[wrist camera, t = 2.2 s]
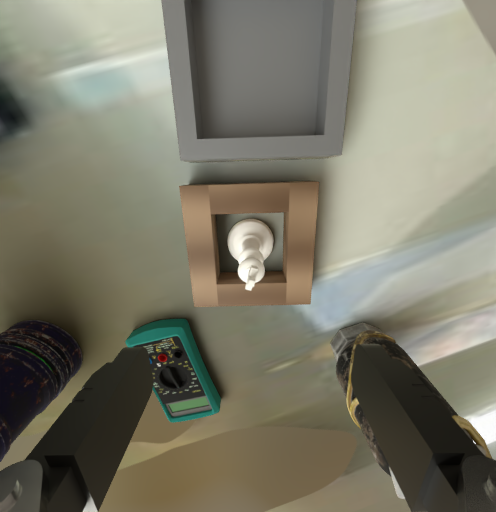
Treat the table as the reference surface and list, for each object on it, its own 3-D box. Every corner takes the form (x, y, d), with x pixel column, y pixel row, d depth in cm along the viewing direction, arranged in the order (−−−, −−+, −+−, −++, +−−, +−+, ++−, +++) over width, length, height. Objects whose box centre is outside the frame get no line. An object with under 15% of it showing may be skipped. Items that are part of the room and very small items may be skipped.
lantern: (393, 361, 30) (942, 1065, 6) (333, 378, 31) (608, 1039, 7) (381, 307, 27) (1264, 1188, 4) (315, 328, 28) (660, 1120, 5)
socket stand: (188, 184, 22) (179, 186, 20) (310, 180, 22) (319, 181, 20) (200, 292, 27) (194, 306, 24) (303, 290, 26) (310, 304, 24)
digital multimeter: (185, 311, 28) (178, 326, 25) (222, 397, 33) (220, 418, 30) (131, 324, 29) (118, 340, 26) (175, 407, 33) (168, 428, 31)
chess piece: (279, 225, 24) (299, 258, 14) (266, 267, 25) (276, 322, 16) (233, 213, 23) (223, 239, 14) (222, 256, 25) (207, 306, 16)
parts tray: (171, -21, 17) (153, -67, 14) (342, -29, 17) (364, -76, 14) (190, 162, 22) (180, 160, 19) (327, 158, 22) (341, 155, 18)
